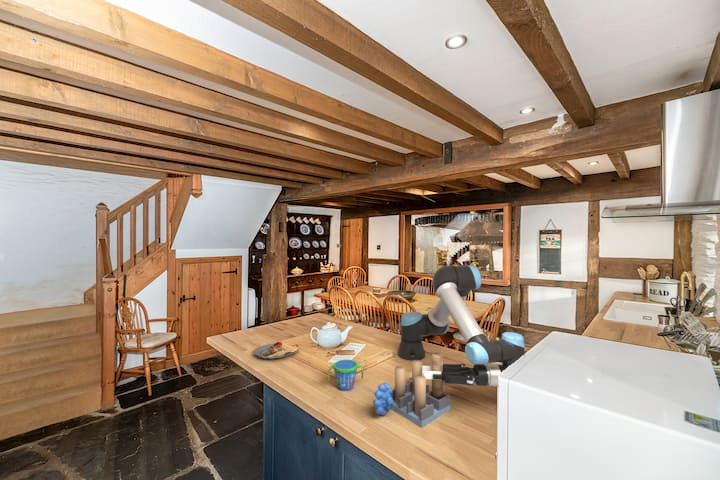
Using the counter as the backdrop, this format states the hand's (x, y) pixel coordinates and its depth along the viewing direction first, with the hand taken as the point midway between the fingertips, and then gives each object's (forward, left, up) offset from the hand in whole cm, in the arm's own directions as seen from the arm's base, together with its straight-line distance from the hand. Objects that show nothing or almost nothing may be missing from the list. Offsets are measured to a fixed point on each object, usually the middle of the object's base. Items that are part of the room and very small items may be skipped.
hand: (423, 372), depth 116 cm
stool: (+1, -1, -14) cm, 14 cm away
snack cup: (+13, -32, -14) cm, 38 cm away
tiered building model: (-11, -13, -15) cm, 23 cm away
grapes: (+15, -6, -14) cm, 21 cm away
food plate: (+20, -89, -14) cm, 93 cm away
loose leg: (-4, +4, -9) cm, 10 cm away
